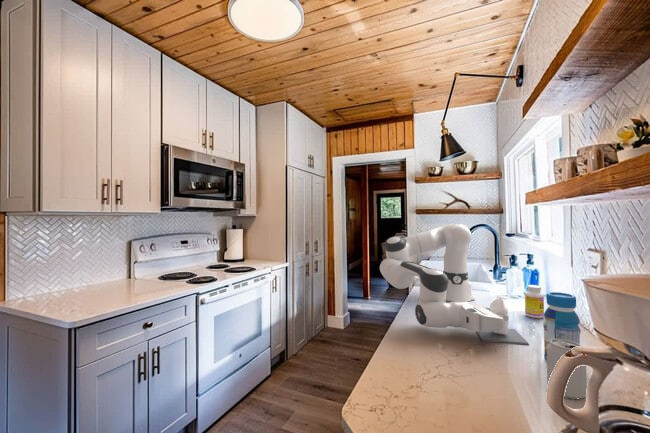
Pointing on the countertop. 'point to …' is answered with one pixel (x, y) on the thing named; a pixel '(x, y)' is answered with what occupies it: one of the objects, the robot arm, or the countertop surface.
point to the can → (578, 378)
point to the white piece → (499, 313)
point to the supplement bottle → (534, 302)
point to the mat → (502, 337)
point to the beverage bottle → (560, 319)
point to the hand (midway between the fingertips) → (501, 314)
